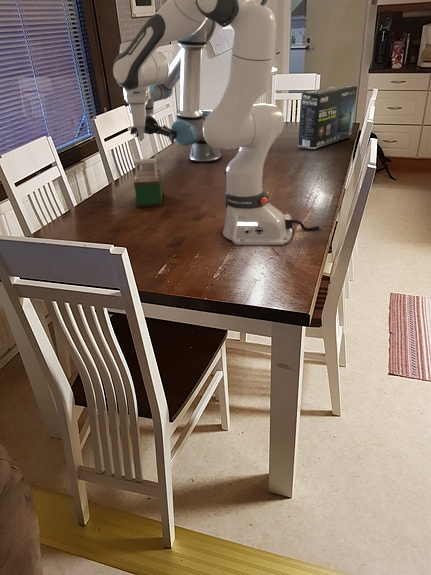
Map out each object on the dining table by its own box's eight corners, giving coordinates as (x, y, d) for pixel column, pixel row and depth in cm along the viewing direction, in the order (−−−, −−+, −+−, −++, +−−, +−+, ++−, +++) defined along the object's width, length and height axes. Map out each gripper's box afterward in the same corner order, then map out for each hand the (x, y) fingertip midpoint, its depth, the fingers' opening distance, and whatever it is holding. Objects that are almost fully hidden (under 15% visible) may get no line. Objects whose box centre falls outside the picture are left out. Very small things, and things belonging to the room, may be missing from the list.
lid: (159, 183, 168) (157, 160, 164) (134, 185, 168) (131, 162, 163) (160, 171, 180) (158, 150, 176) (136, 173, 180) (133, 151, 176)
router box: (314, 151, 231) (318, 94, 217) (296, 148, 237) (299, 92, 224) (352, 138, 251) (358, 85, 238) (335, 135, 258) (340, 83, 245)
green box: (161, 206, 173) (159, 183, 169) (137, 207, 173) (134, 184, 168) (162, 193, 185) (160, 171, 180) (139, 195, 185) (136, 173, 180)
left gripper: (174, 134, 215) (184, 149, 199) (120, 129, 207) (126, 145, 191) (176, 117, 211) (187, 132, 194) (121, 112, 203) (127, 127, 186)
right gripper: (129, 90, 164) (134, 130, 171) (126, 99, 146) (131, 143, 153) (147, 89, 164) (151, 128, 171) (146, 97, 147) (150, 141, 154)
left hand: (157, 138), depth 192 cm, fingers open, 13 cm apart
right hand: (142, 135), depth 162 cm, fingers open, 8 cm apart
